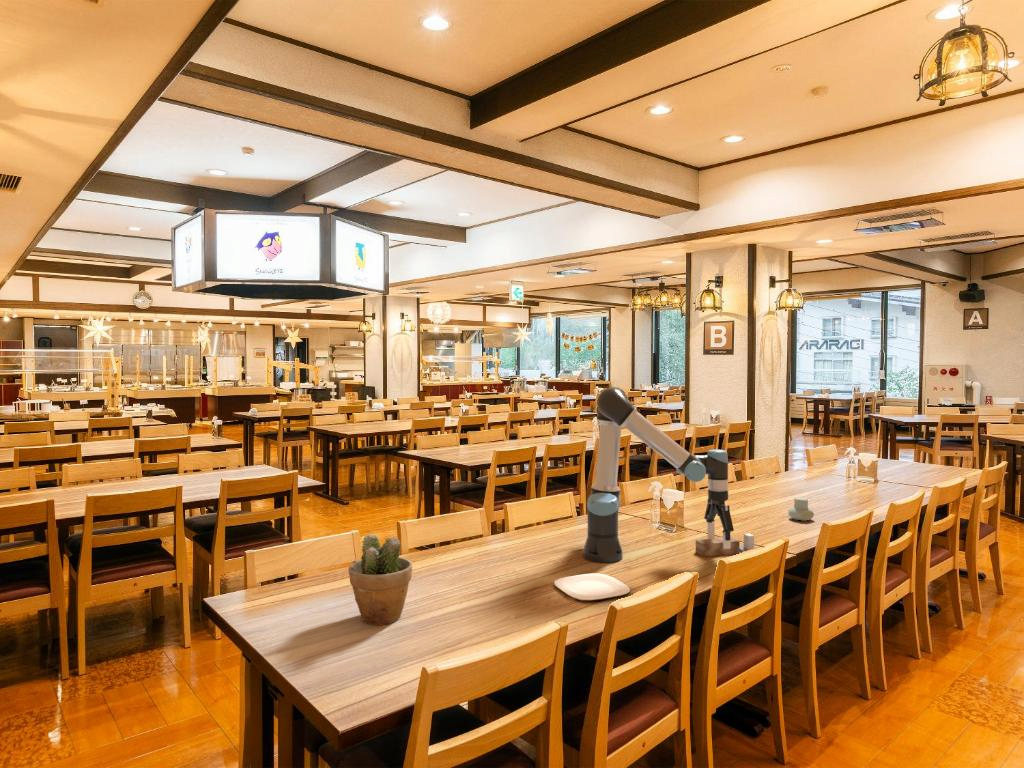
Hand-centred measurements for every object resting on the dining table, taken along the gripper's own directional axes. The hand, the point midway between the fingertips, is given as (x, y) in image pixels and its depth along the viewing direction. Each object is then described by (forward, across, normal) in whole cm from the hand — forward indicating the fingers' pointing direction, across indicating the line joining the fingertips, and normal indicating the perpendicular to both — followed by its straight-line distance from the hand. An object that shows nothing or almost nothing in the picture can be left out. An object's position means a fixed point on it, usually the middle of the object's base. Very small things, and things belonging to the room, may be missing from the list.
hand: (718, 543), depth 246 cm
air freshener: (+5, +43, -62) cm, 75 cm away
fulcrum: (+4, 0, -13) cm, 13 cm away
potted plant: (+2, -46, +126) cm, 134 cm away
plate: (+3, -32, +59) cm, 68 cm away
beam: (+4, 0, 0) cm, 4 cm away
